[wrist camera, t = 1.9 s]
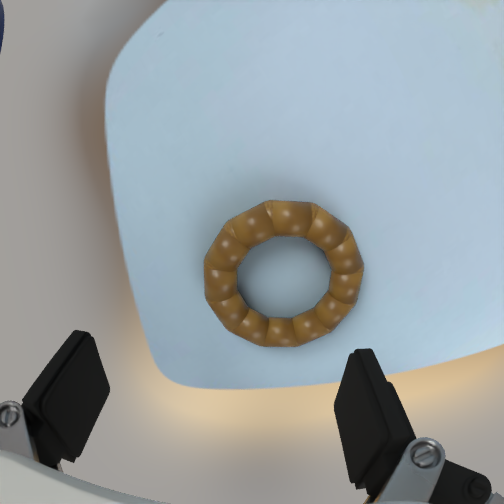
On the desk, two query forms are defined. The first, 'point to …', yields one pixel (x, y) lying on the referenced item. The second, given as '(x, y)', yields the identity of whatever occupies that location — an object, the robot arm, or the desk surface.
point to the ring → (260, 230)
